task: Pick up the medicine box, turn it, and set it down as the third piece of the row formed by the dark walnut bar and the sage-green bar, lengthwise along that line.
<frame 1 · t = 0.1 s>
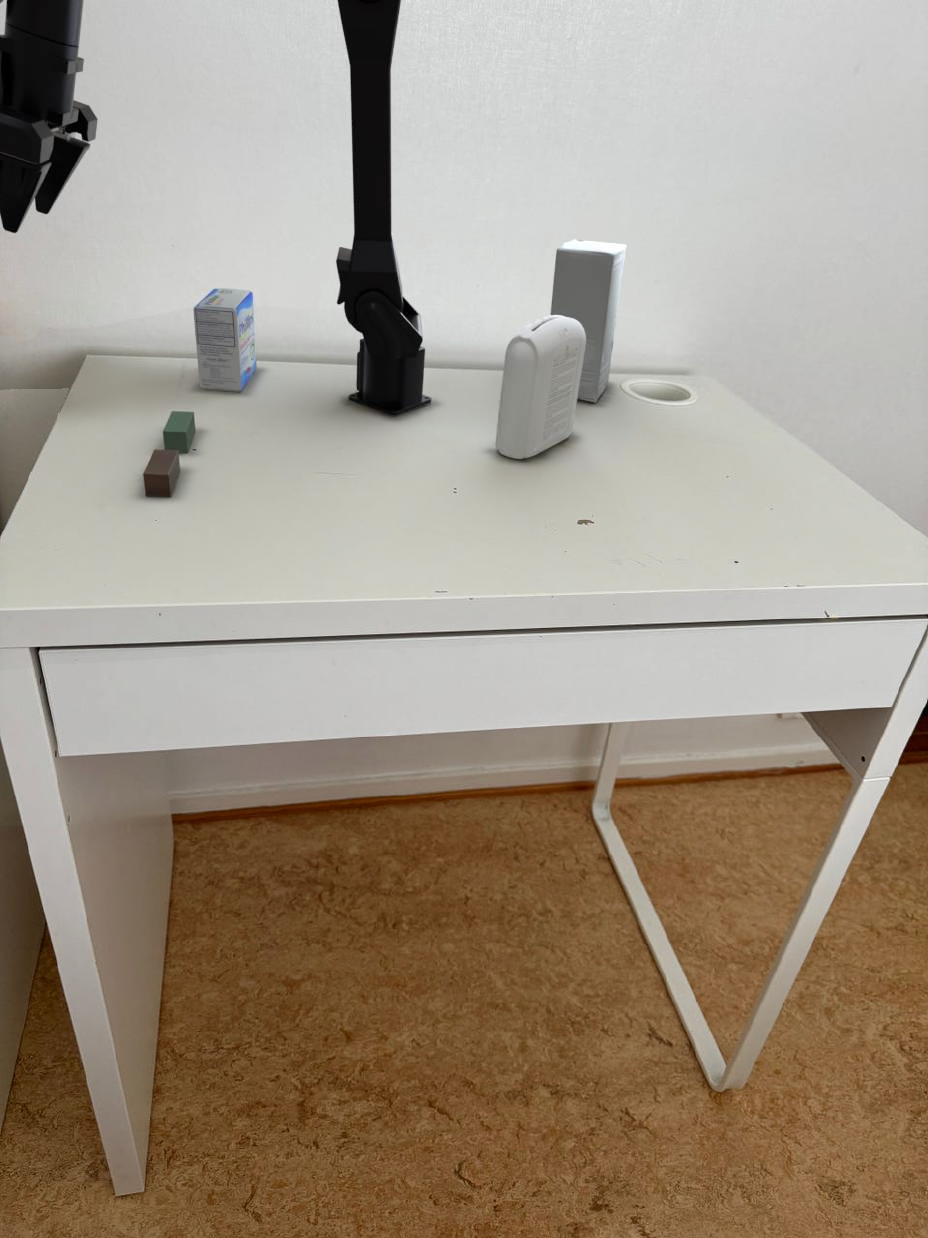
hand: (26, 221, 85), 15 cm above the table, tool pointing down, fingers open, 9 cm apart
sage bar: (180, 441, 84), on the table
walnut bar: (163, 483, 76), on the table
photo printer: (533, 445, 91), on the table
cosmetic box: (573, 389, 106), on the table
medicine box: (229, 381, 99), on the table
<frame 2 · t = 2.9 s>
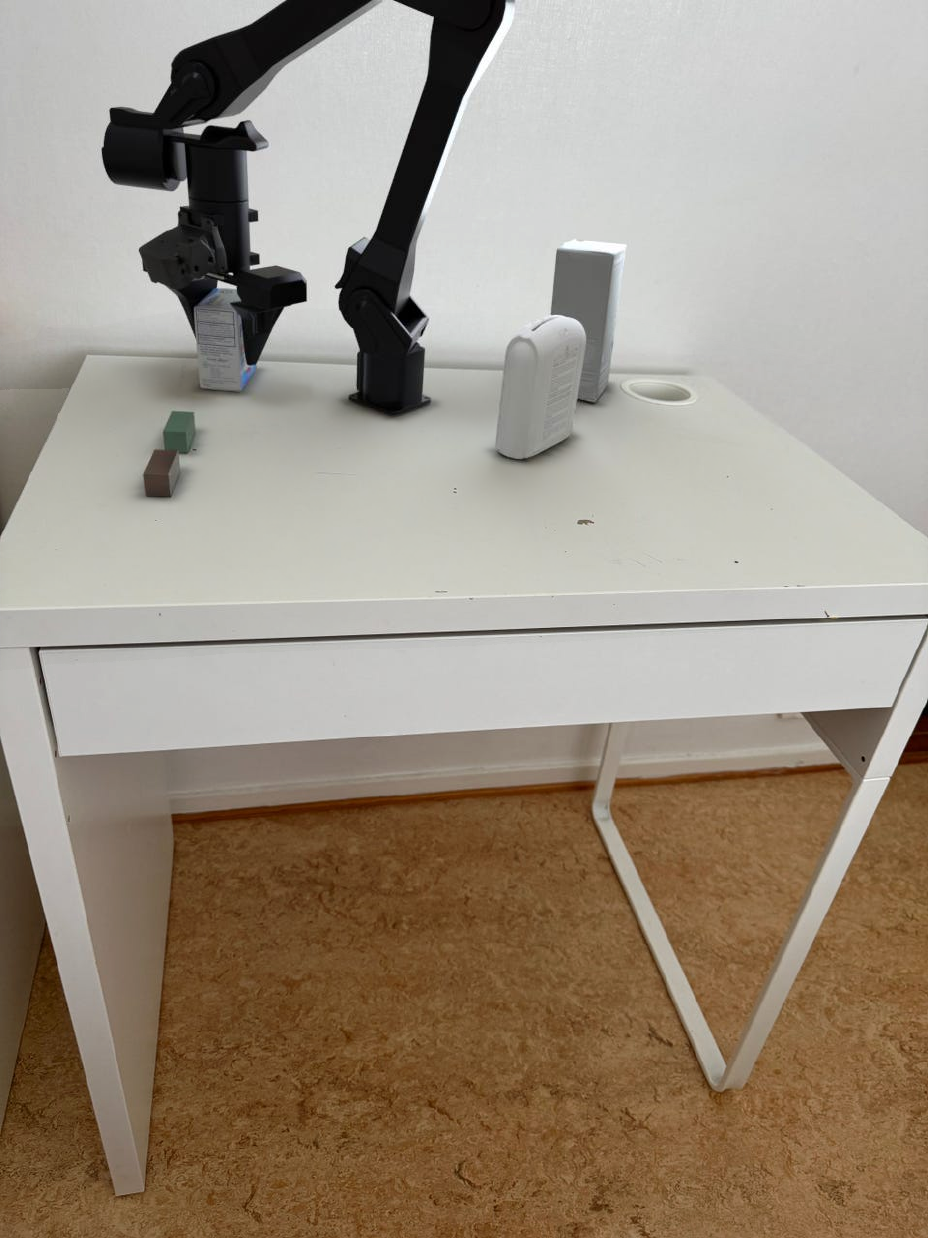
hand: (227, 355, 97), 3 cm above the table, tool pointing down, fingers closed on medicine box, 7 cm apart
medicine box: (229, 381, 99), on the table, touching gripper
everything else where it was.
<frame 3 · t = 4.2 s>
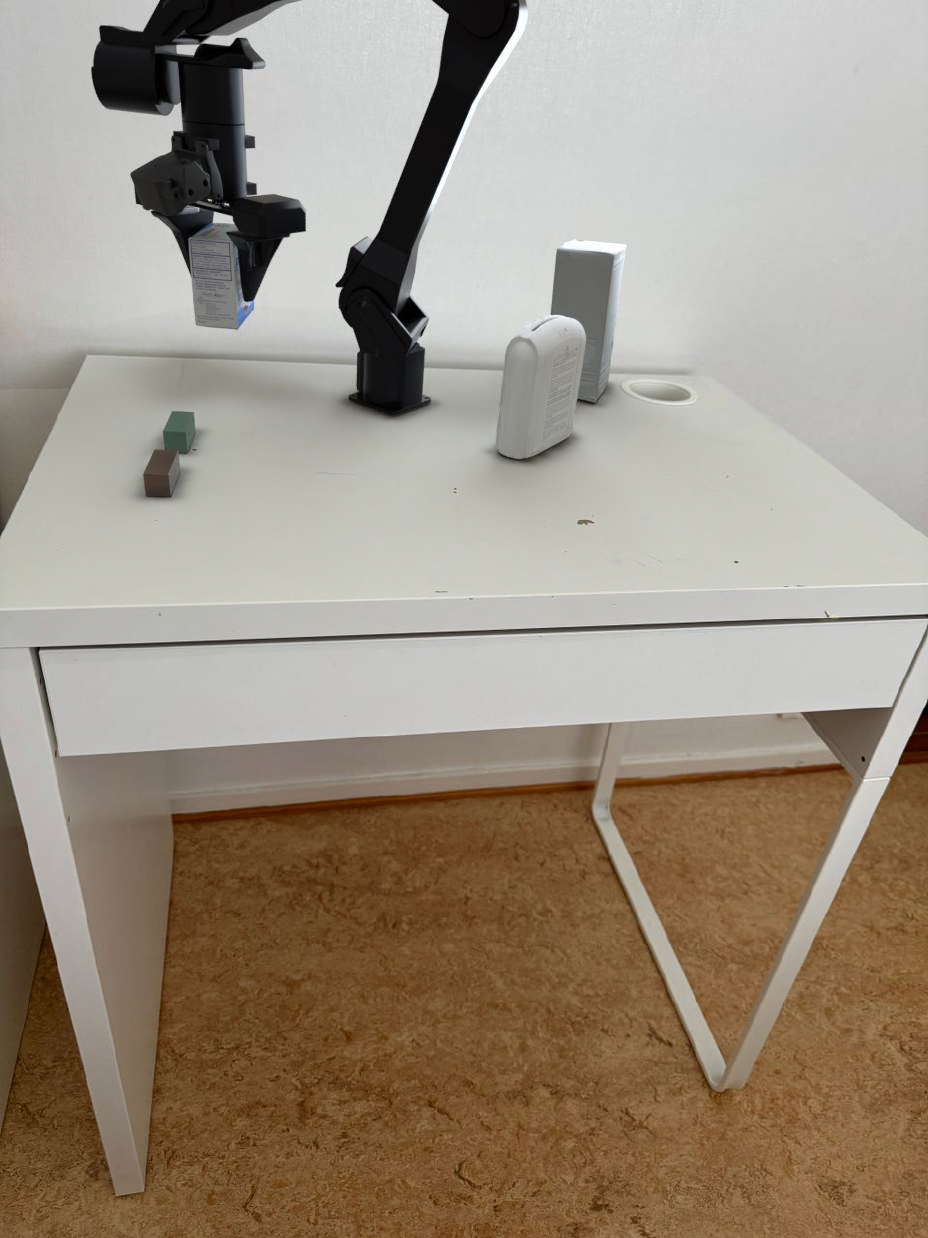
hand: (223, 293, 94), 9 cm above the table, tool pointing down, fingers closed on medicine box, 7 cm apart
medicine box: (225, 320, 95), point 6 cm above the table, touching gripper
everything else where it was.
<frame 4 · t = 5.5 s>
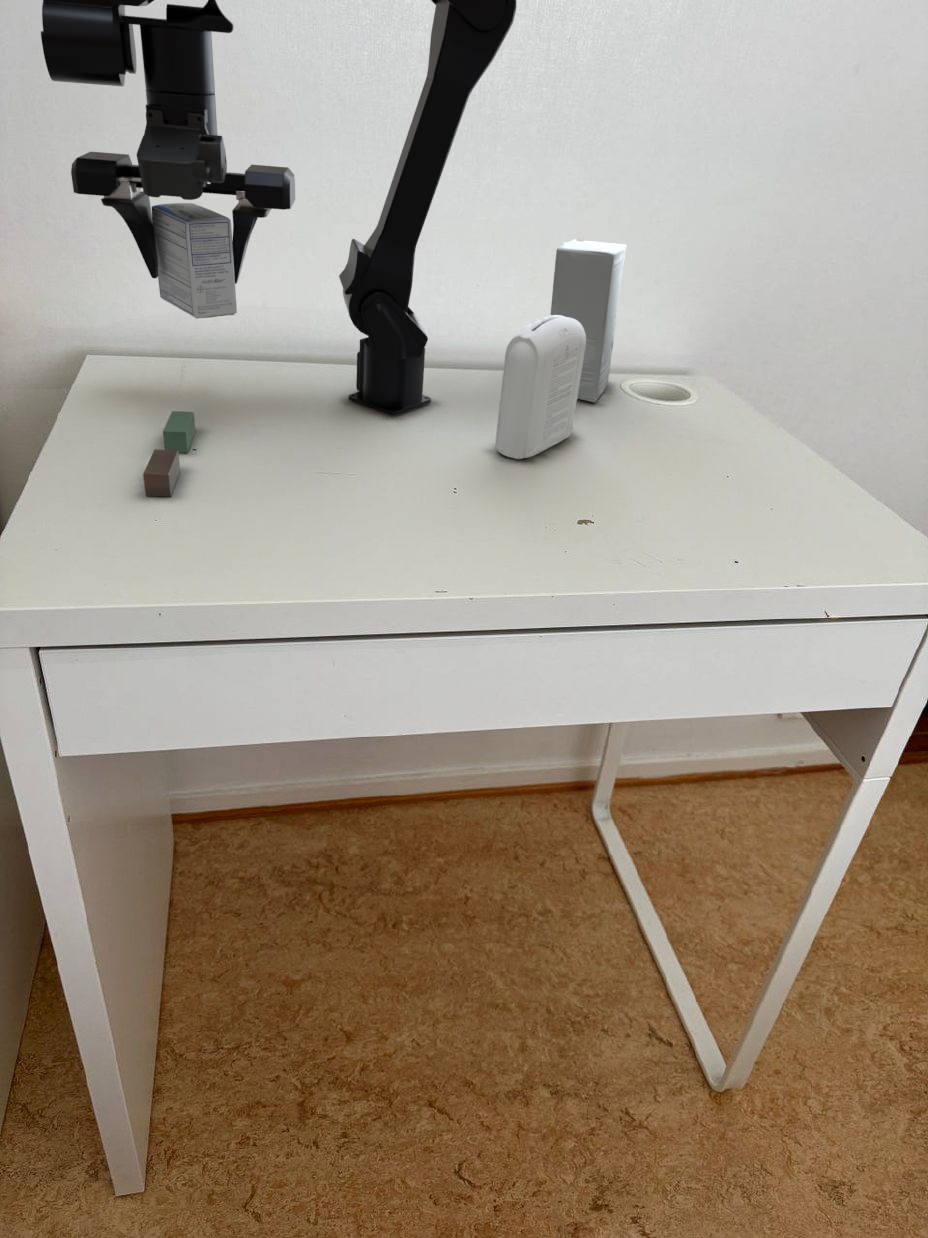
hand: (195, 280, 87), 12 cm above the table, tool pointing down, fingers closed on medicine box, 7 cm apart
medicine box: (198, 309, 88), point 9 cm above the table, touching gripper
everything else where it was.
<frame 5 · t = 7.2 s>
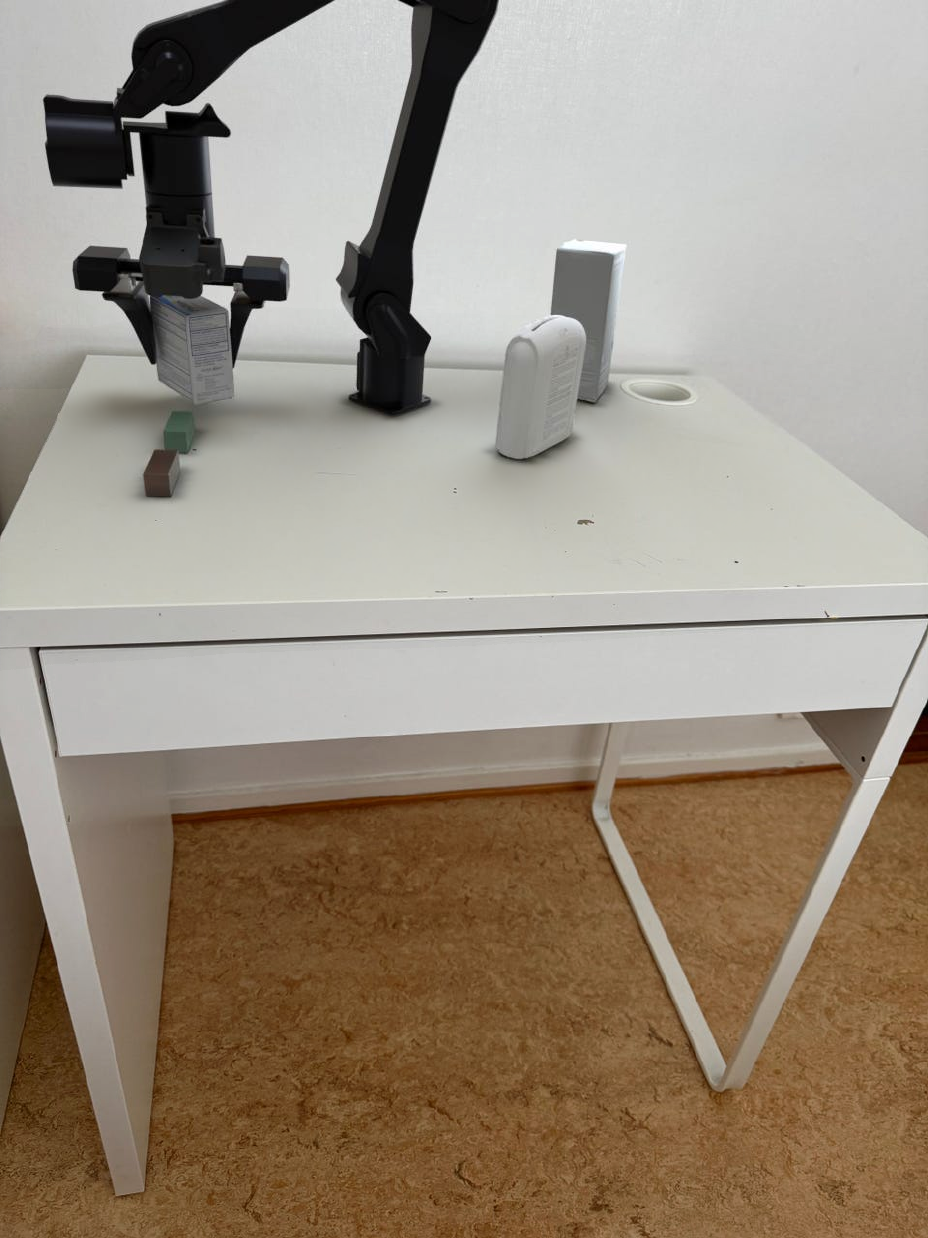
hand: (193, 365, 89), 4 cm above the table, tool pointing down, fingers closed on medicine box, 7 cm apart
medicine box: (195, 392, 91), point 1 cm above the table, touching gripper
everything else where it was.
when the fingers open (2 cm above the table, at t = 8.4 s): medicine box stays where it is, on the table.
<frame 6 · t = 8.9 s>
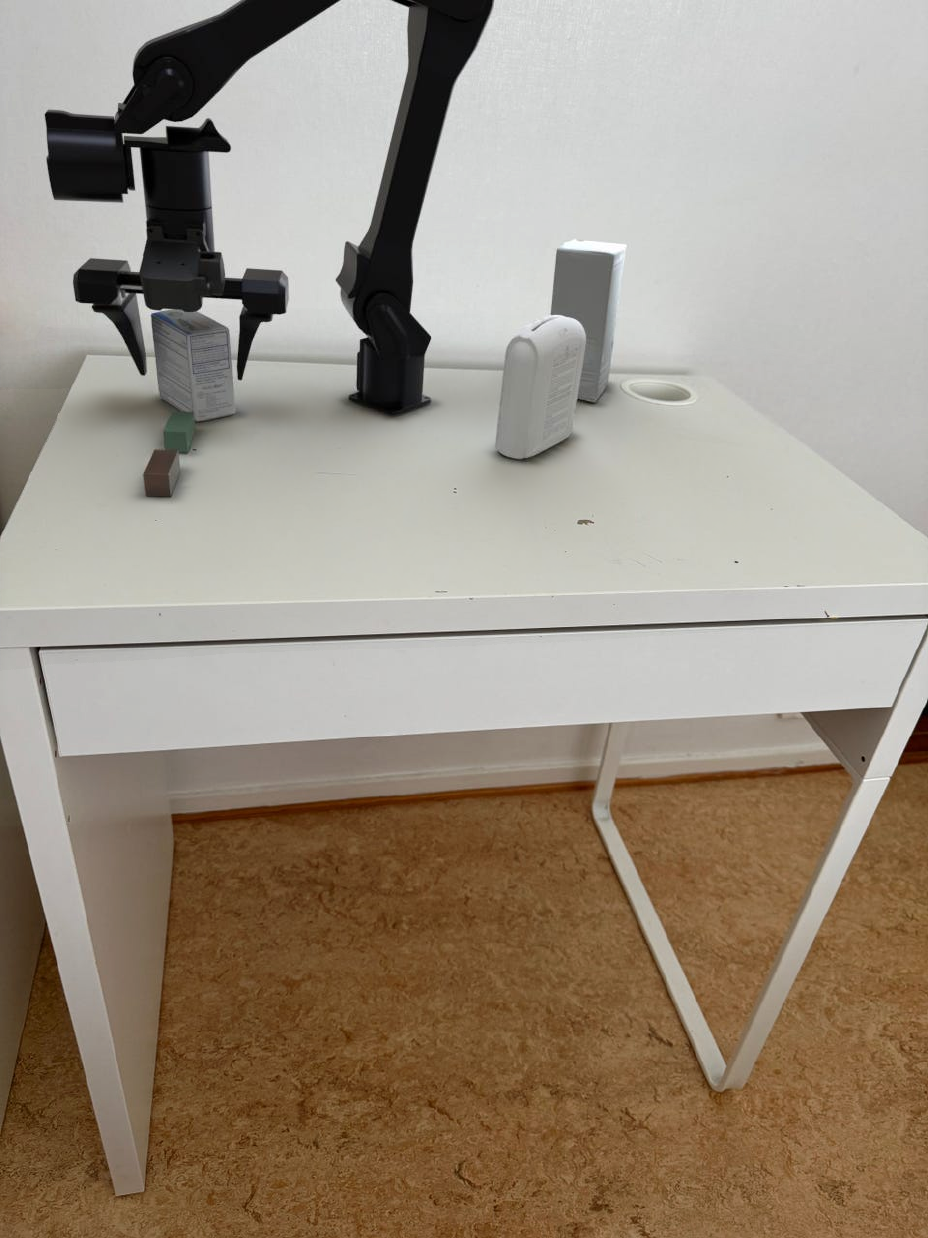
hand: (192, 376, 90), 3 cm above the table, tool pointing down, fingers open, 9 cm apart
medicine box: (196, 408, 91), on the table
everything else where it was.
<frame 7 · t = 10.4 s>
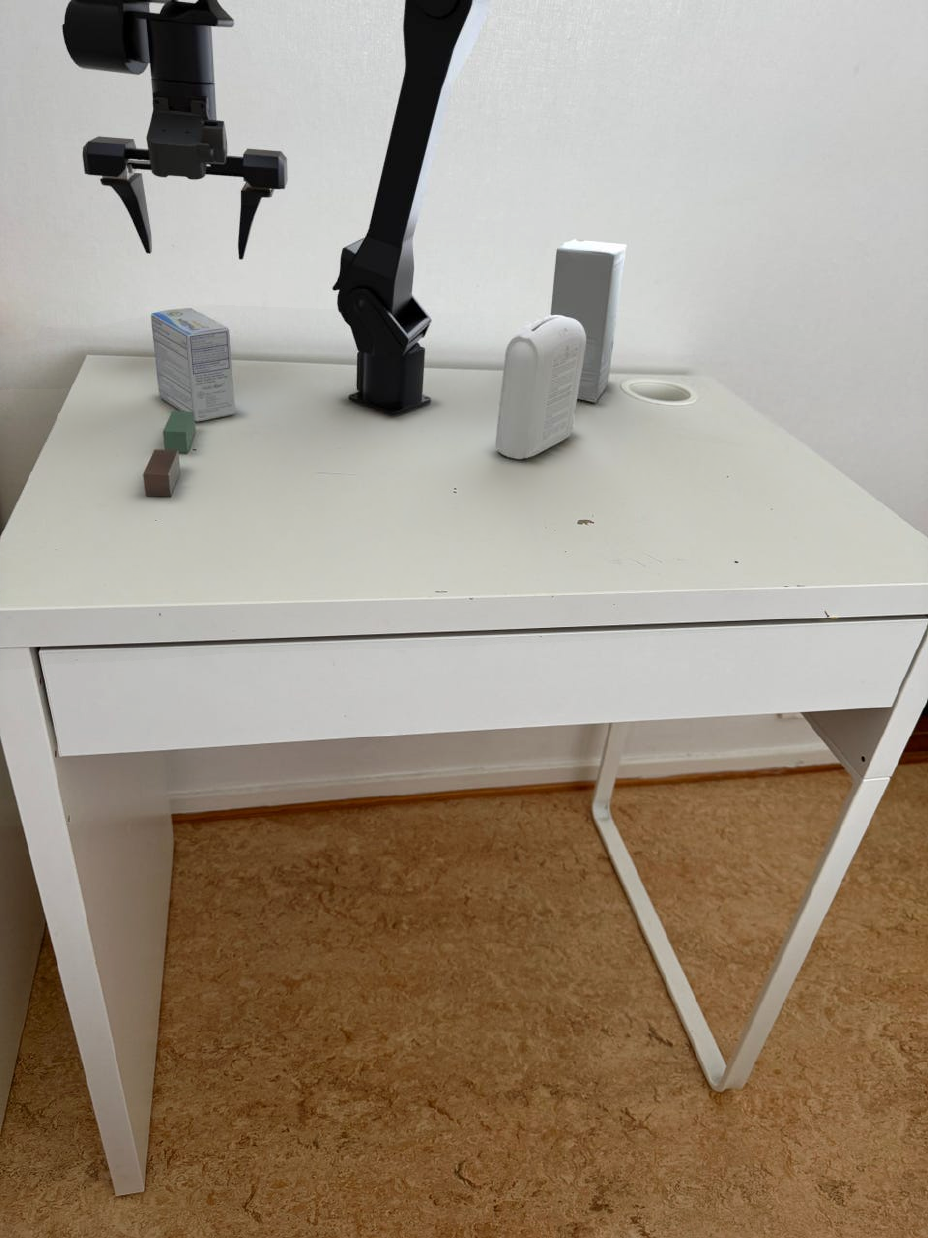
hand: (195, 255, 94), 12 cm above the table, tool pointing down, fingers open, 9 cm apart
nothing on the table moved.
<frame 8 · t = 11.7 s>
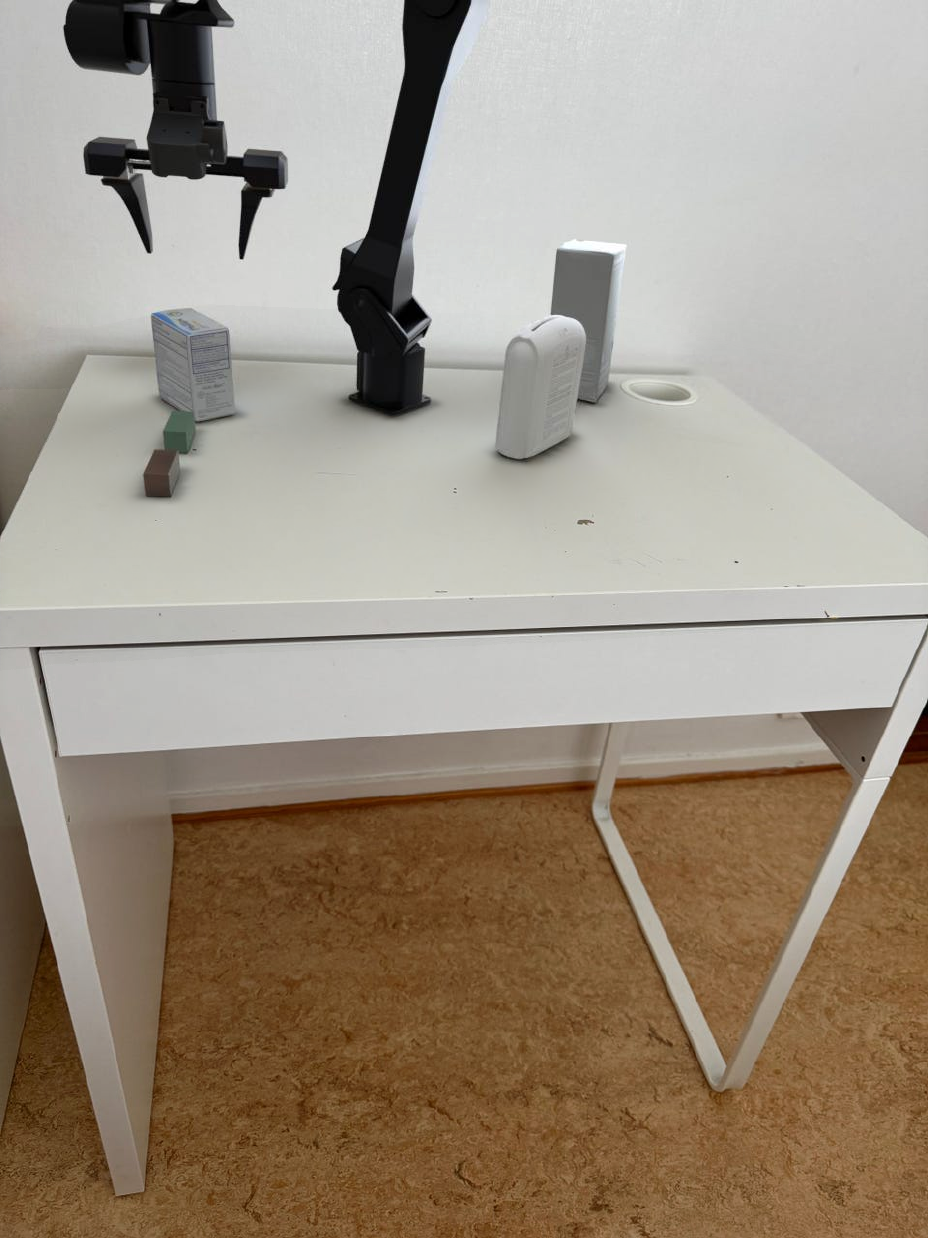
hand: (196, 255, 94), 12 cm above the table, tool pointing down, fingers open, 9 cm apart
nothing on the table moved.
at the end: medicine box 0.1 cm from the target spot on the table beside the sage bar, on the table; medicine box 0.1 cm from the target spot on the table beside the walnut bar, on the table; medicine box tilted 0° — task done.
